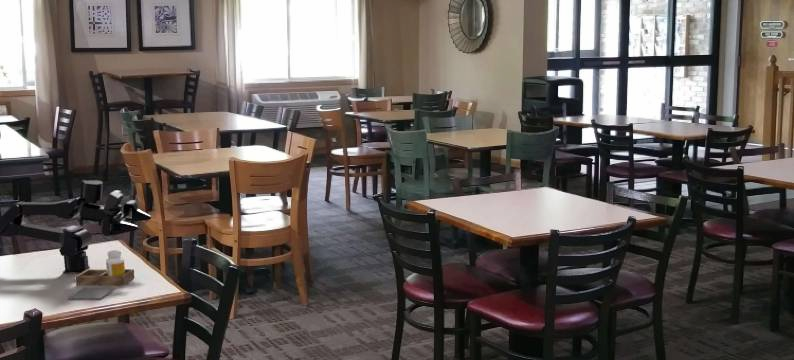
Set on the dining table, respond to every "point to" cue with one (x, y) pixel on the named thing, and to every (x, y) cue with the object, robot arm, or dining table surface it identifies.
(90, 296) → the coaster
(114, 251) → the supplement bottle
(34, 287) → the dining table surface
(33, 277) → the dining table surface
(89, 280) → the brown two-compartment frame
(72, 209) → the robot arm
